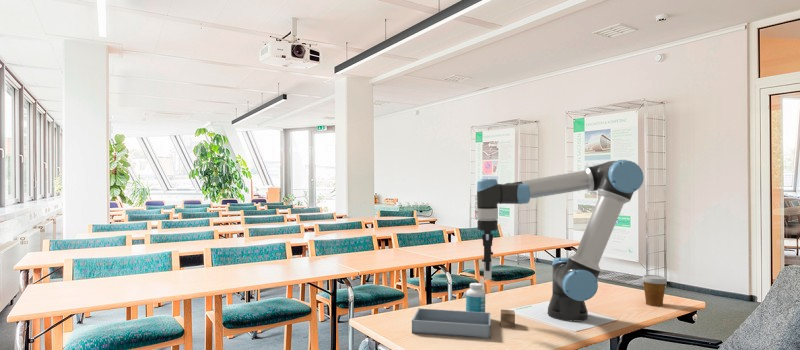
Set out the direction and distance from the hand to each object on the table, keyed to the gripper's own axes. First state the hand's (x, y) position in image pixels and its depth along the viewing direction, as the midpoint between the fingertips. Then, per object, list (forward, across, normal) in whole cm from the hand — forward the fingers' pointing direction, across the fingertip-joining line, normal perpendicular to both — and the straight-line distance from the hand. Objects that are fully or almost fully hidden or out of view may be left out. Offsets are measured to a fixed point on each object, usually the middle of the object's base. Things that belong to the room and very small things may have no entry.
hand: (488, 275), depth 176 cm
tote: (+18, +10, -13) cm, 24 cm away
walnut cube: (+18, +1, +7) cm, 19 cm away
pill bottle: (+18, -4, -5) cm, 19 cm away
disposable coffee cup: (+19, -42, +71) cm, 84 cm away
